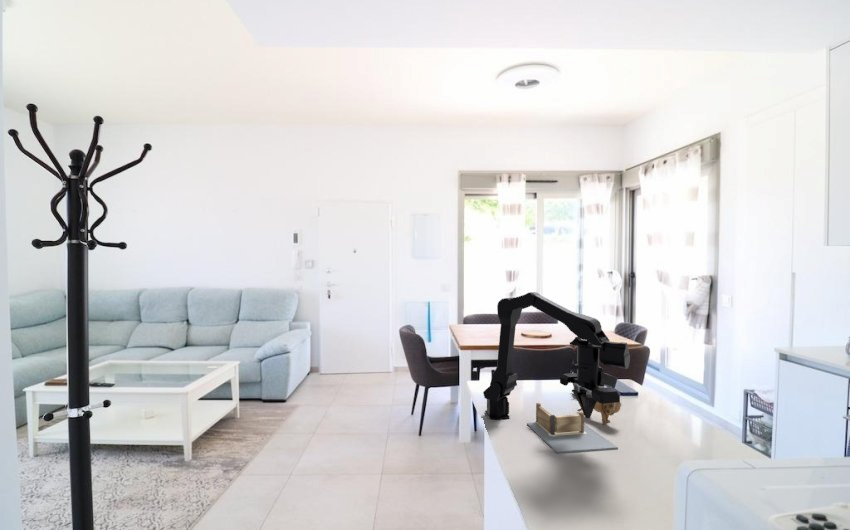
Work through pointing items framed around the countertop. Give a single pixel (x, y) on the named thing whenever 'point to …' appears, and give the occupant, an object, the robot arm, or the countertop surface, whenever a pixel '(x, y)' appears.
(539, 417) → the fixed plank
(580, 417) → the hinged plank
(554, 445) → the card
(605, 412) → the lion figurine
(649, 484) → the countertop surface
